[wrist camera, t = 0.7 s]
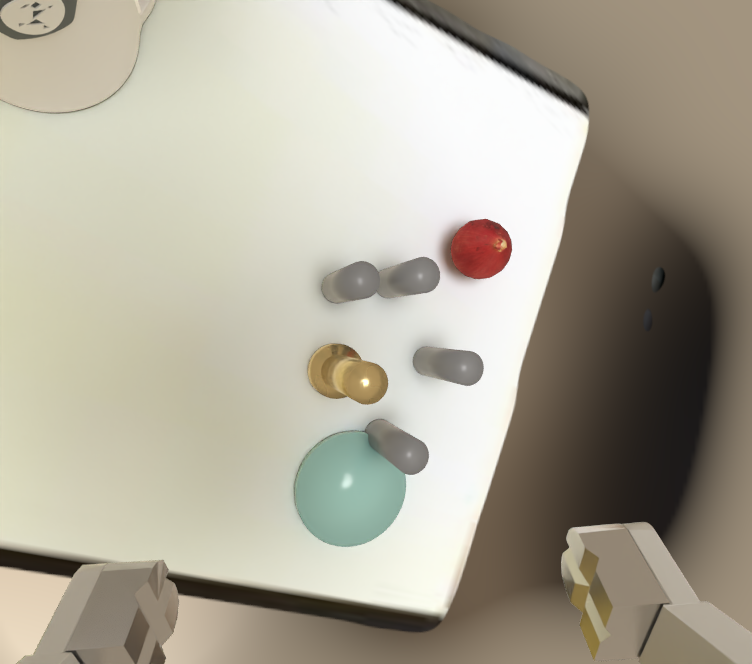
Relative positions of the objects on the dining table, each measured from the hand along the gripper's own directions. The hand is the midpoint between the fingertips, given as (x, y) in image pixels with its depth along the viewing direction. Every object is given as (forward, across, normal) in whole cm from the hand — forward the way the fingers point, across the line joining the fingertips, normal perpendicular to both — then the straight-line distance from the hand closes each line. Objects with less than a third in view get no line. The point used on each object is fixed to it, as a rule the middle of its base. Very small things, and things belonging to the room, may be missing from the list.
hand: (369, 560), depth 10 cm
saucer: (+28, +2, +29) cm, 40 cm away
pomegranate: (+43, -11, +11) cm, 45 cm away
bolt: (+33, +3, +19) cm, 38 cm away
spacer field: (+35, -1, +18) cm, 40 cm away
